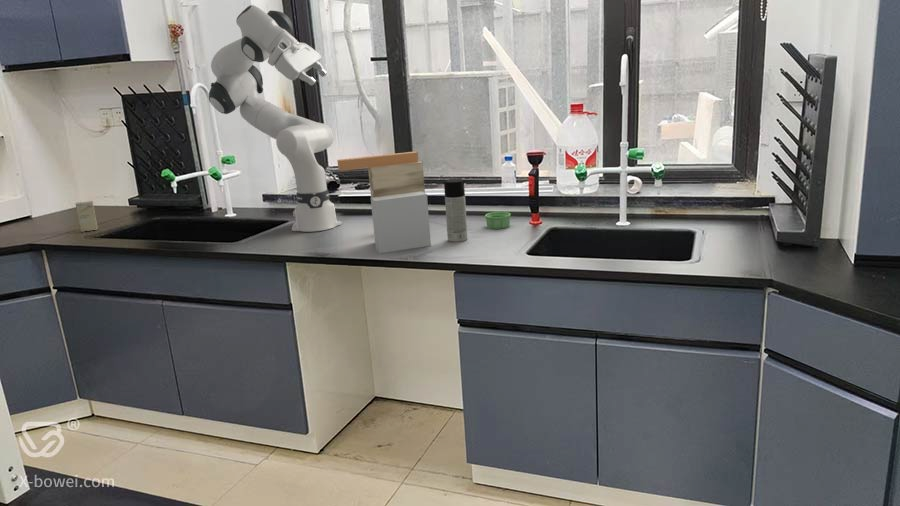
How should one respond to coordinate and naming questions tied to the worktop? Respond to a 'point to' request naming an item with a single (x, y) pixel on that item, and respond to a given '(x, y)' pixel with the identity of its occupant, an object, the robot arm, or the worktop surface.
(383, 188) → the beige rectangular block
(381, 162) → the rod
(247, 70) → the robot arm
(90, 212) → the skincare box
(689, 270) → the worktop surface
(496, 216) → the ramekin
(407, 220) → the base
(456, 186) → the spray can
